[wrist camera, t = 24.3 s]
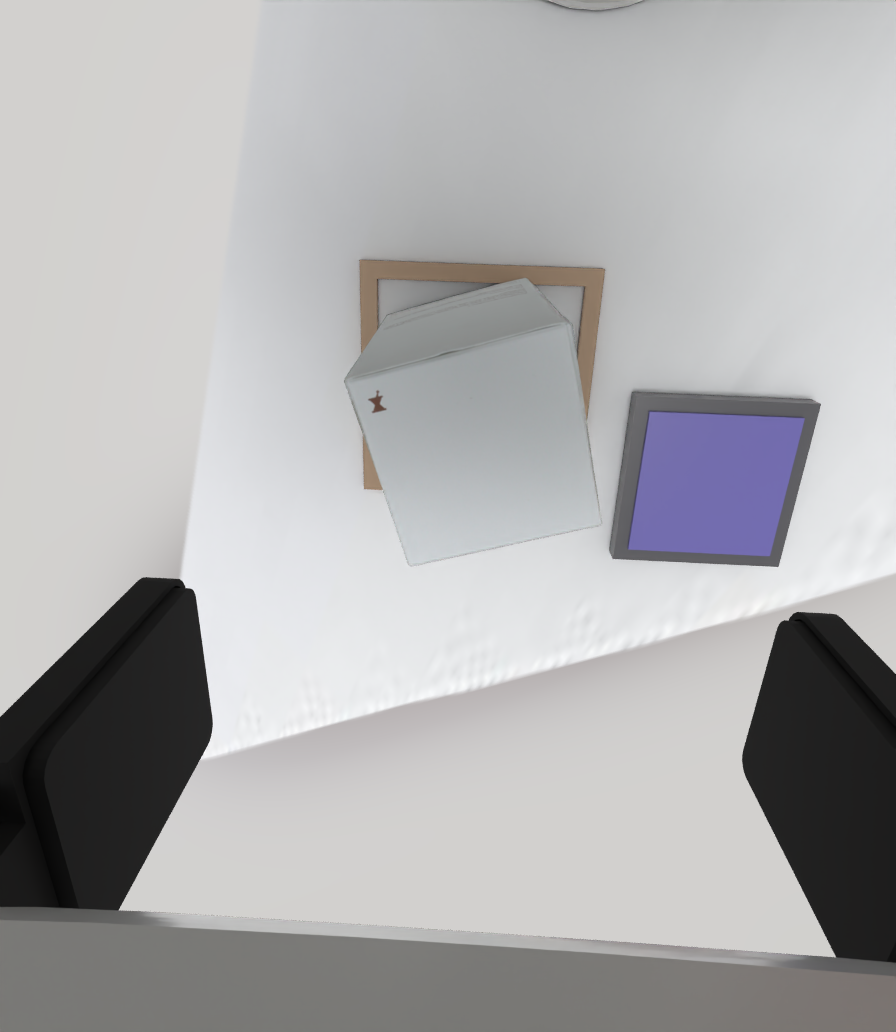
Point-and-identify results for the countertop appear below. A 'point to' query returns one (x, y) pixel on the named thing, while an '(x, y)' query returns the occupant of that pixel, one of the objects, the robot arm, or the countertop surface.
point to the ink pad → (710, 477)
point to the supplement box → (477, 422)
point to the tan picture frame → (482, 274)
